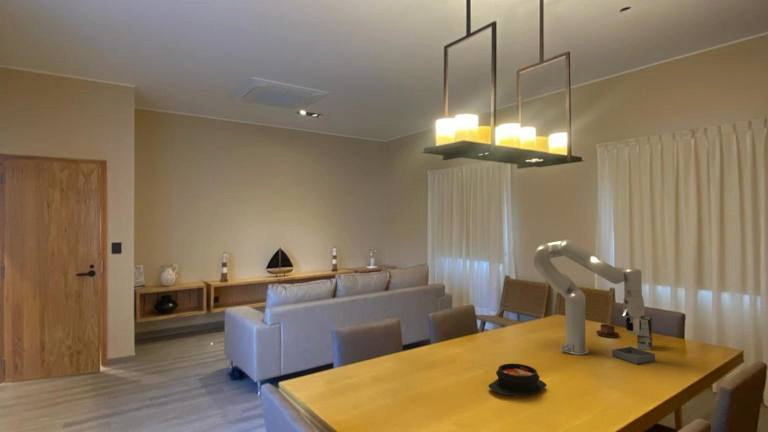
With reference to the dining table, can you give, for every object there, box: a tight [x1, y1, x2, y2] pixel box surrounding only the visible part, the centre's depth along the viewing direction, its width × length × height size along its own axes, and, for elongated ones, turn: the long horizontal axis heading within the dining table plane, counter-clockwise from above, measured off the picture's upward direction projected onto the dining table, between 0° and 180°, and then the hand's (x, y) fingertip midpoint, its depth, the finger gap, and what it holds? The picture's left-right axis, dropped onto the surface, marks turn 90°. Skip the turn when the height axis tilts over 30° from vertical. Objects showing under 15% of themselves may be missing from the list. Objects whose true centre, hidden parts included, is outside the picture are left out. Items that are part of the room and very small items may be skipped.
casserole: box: [488, 363, 547, 397], centre depth 171 cm, size 25×19×8 cm
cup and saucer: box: [595, 323, 620, 338], centre depth 250 cm, size 12×12×6 cm
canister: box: [627, 315, 640, 336], centre depth 208 cm, size 5×5×9 cm
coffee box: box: [636, 315, 653, 351], centre depth 227 cm, size 9×6×16 cm
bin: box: [611, 346, 656, 366], centre depth 208 cm, size 13×13×4 cm
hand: (633, 329), depth 208 cm, fingers closed on canister, 5 cm apart
